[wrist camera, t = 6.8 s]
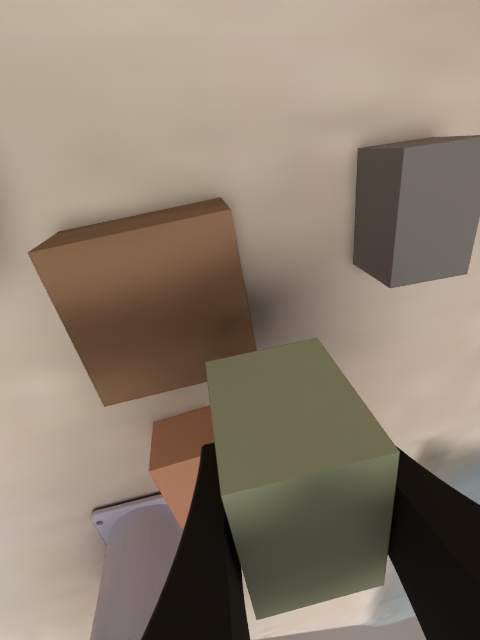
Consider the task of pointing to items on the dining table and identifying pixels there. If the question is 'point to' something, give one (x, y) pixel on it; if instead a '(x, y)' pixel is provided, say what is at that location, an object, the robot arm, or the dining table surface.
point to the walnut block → (149, 297)
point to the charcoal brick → (417, 209)
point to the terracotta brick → (179, 457)
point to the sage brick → (301, 476)
